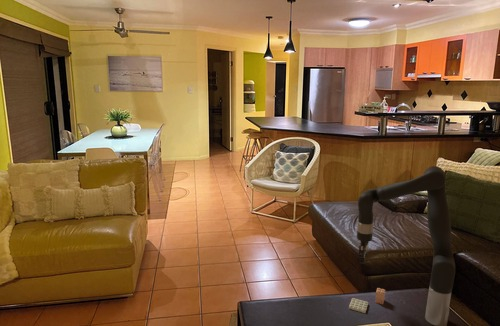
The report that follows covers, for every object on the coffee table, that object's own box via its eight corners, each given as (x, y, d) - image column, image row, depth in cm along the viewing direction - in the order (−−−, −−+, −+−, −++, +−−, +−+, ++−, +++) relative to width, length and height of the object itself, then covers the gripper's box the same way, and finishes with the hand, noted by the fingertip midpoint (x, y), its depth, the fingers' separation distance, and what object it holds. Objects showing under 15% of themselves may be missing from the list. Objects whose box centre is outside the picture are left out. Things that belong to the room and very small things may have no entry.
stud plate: (367, 304, 184) (368, 301, 183) (365, 313, 177) (365, 310, 177) (352, 299, 187) (352, 297, 187) (348, 308, 180) (349, 305, 180)
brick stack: (384, 300, 187) (385, 289, 186) (383, 304, 184) (384, 293, 182) (376, 298, 189) (377, 287, 188) (375, 302, 186) (376, 291, 184)
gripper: (370, 237, 172) (368, 267, 176) (374, 226, 185) (372, 255, 188) (354, 234, 175) (352, 264, 179) (359, 223, 188) (357, 252, 192)
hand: (363, 259), depth 184 cm, fingers open, 8 cm apart
